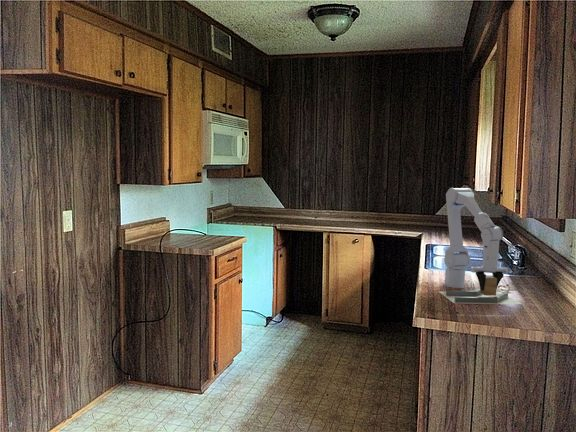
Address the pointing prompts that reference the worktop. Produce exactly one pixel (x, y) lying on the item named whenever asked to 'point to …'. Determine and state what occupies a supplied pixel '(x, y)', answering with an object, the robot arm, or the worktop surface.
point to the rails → (475, 299)
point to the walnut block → (489, 286)
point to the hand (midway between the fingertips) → (488, 289)
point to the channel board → (505, 301)
